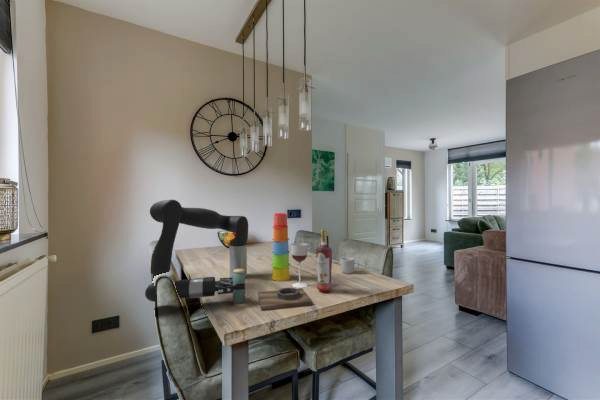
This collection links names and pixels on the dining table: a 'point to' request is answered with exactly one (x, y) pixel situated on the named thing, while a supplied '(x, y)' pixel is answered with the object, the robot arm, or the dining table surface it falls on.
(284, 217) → the stacking cups
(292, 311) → the dining table surface
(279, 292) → the lamp base
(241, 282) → the teal cylinder
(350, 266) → the cup
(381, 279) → the dining table surface
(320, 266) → the liquor
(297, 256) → the wineglass
